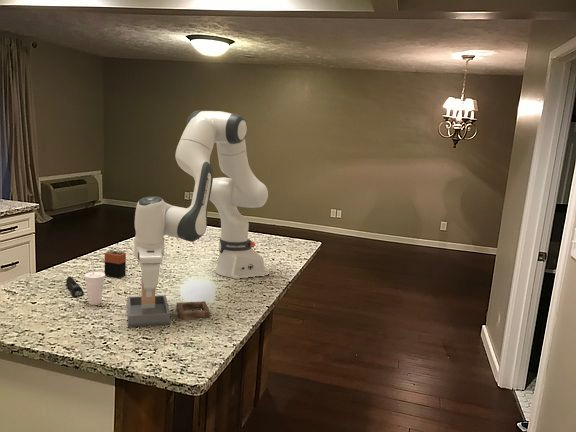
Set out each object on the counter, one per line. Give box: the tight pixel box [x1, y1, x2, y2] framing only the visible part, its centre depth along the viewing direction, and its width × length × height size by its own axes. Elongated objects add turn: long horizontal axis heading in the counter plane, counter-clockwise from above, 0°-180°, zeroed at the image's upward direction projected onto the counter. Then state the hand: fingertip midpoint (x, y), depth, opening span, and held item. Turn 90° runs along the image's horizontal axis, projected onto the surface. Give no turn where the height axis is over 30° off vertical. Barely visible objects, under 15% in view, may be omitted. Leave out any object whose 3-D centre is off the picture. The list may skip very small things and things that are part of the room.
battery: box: [104, 249, 127, 279], centre depth 186 cm, size 4×7×10 cm, turn 76°
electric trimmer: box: [65, 276, 85, 298], centre depth 169 cm, size 4×16×3 cm, turn 34°
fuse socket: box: [176, 300, 211, 321], centre depth 156 cm, size 9×9×2 cm
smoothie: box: [83, 261, 106, 306], centre depth 157 cm, size 6×6×14 cm
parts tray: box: [126, 294, 171, 328], centre depth 152 cm, size 12×16×4 cm
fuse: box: [140, 275, 156, 309], centre depth 150 cm, size 4×4×10 cm
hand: (148, 293), depth 151 cm, fingers closed on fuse, 4 cm apart
